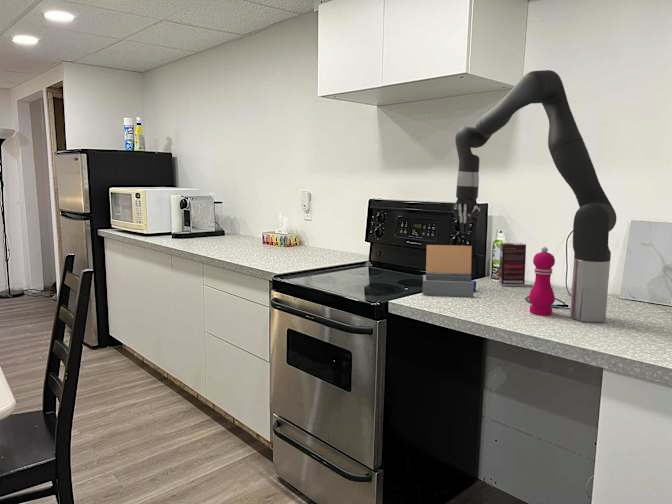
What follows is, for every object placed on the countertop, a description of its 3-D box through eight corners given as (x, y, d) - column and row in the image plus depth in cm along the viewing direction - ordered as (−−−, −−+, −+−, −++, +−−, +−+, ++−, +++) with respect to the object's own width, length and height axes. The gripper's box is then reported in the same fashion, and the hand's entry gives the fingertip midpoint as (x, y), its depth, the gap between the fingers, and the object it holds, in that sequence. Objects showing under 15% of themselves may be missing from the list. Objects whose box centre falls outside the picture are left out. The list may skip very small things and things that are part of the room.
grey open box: (473, 296, 172) (473, 282, 171) (422, 295, 175) (423, 280, 174) (470, 290, 183) (470, 276, 182) (422, 288, 185) (423, 274, 185)
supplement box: (521, 284, 193) (523, 242, 191) (524, 286, 188) (526, 244, 186) (497, 283, 194) (500, 242, 192) (500, 286, 189) (502, 244, 187)
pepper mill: (538, 316, 147) (542, 249, 145) (522, 310, 154) (526, 245, 151) (559, 315, 149) (563, 248, 146) (543, 309, 156) (547, 245, 153)
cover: (471, 245, 182) (471, 245, 183) (426, 244, 185) (426, 244, 185) (471, 275, 182) (470, 275, 182) (425, 274, 184) (425, 274, 185)
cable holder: (457, 294, 176) (458, 283, 176) (452, 292, 180) (453, 281, 179) (477, 293, 179) (478, 282, 178) (472, 291, 182) (473, 280, 181)
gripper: (446, 184, 182) (443, 231, 185) (474, 185, 171) (471, 236, 174) (460, 184, 186) (457, 230, 189) (489, 185, 175) (486, 235, 178)
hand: (464, 233), depth 182 cm, fingers closed
